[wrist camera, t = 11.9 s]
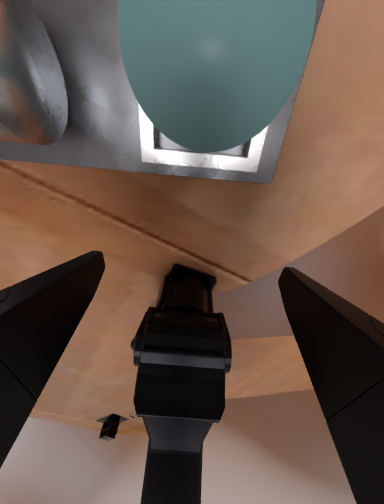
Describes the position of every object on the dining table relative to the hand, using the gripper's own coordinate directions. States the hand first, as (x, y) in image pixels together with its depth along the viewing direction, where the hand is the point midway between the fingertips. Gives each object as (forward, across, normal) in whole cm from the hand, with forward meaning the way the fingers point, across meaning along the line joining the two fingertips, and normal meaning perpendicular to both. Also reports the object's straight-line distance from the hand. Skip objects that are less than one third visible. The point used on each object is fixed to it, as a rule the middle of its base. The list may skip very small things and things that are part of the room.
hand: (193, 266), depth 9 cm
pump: (+11, 0, -9) cm, 15 cm away
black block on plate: (+14, +20, +74) cm, 78 cm away
